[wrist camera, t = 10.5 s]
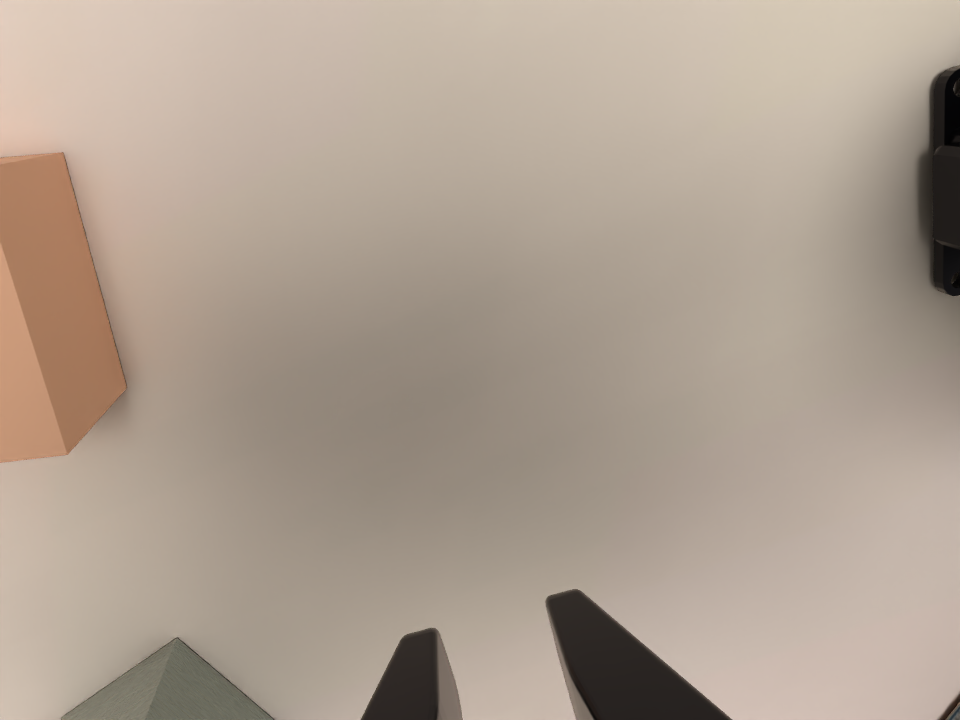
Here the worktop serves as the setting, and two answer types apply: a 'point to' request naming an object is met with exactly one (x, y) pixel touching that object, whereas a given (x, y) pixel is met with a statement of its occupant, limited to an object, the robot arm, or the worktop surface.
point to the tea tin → (169, 692)
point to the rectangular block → (49, 315)
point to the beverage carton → (955, 713)
